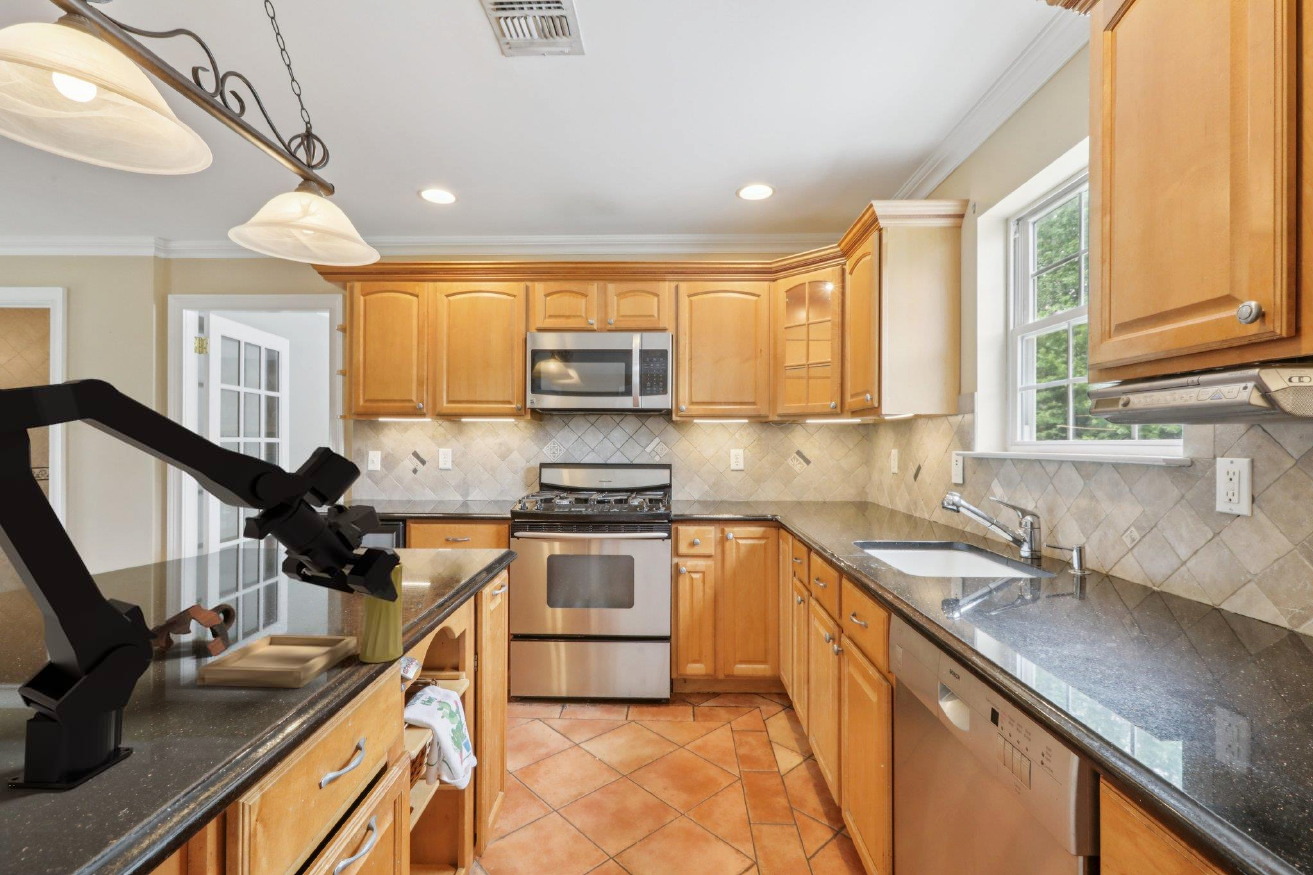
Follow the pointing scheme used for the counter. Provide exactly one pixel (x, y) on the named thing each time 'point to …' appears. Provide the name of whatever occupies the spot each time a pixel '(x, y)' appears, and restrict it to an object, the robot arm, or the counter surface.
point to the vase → (382, 625)
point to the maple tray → (278, 661)
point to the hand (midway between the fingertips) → (374, 595)
